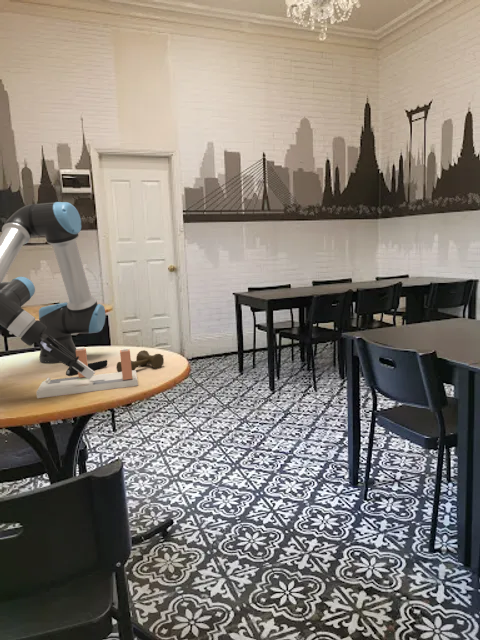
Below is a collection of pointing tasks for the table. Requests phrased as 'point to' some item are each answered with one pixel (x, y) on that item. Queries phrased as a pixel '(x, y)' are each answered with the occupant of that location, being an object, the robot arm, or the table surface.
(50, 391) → the white fixture board
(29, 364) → the table surface
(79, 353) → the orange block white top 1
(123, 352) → the orange rectangular block
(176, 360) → the table surface
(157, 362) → the kendama
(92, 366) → the electric trimmer
